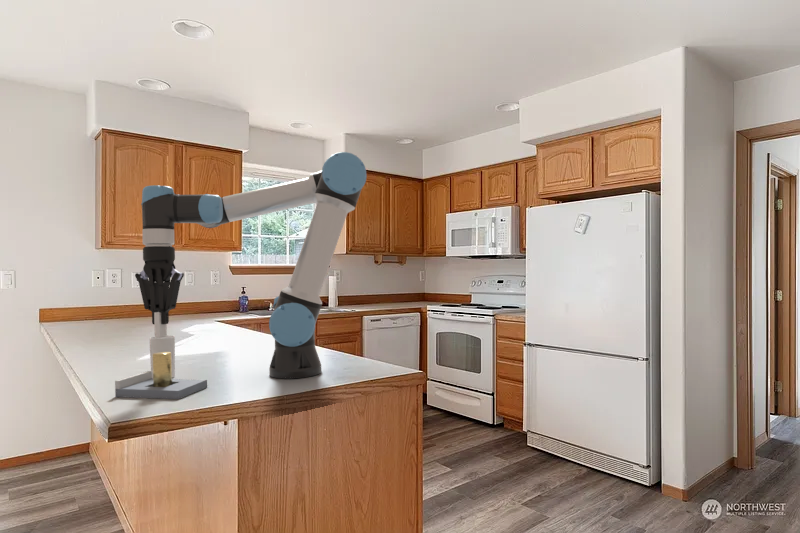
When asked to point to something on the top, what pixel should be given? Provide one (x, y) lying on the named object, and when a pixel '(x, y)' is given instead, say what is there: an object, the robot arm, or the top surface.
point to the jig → (144, 387)
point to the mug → (163, 349)
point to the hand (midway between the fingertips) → (160, 336)
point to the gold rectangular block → (162, 369)
